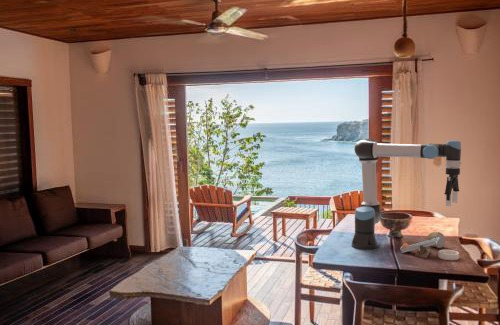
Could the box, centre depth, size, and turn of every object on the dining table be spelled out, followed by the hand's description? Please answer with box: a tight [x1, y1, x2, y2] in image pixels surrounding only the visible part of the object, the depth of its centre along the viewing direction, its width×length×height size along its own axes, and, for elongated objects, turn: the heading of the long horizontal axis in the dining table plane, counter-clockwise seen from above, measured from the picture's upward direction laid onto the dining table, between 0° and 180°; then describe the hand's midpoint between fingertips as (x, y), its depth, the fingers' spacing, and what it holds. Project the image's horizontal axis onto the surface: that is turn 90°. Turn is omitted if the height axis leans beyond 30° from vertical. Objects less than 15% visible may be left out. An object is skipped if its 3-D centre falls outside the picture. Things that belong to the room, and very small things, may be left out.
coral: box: [425, 231, 446, 249], centre depth 276 cm, size 10×10×10 cm
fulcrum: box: [415, 240, 431, 259], centre depth 261 cm, size 6×12×6 cm, turn 150°
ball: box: [401, 242, 410, 249], centre depth 266 cm, size 4×4×4 cm
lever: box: [399, 237, 440, 254], centre depth 265 cm, size 20×15×3 cm
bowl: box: [437, 249, 460, 261], centre depth 255 cm, size 10×10×3 cm
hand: (451, 204), depth 266 cm, fingers open, 13 cm apart
